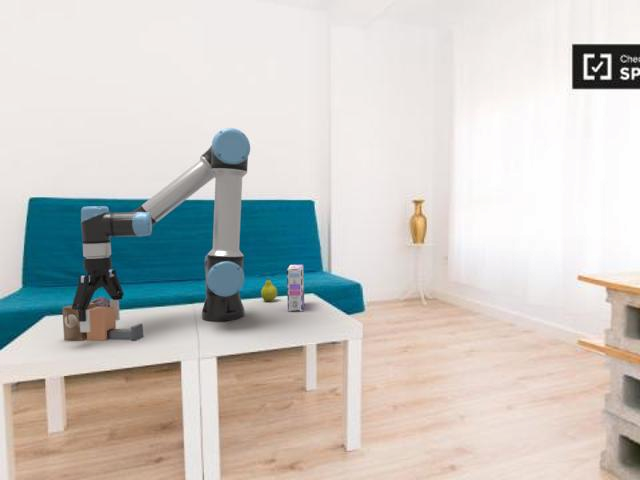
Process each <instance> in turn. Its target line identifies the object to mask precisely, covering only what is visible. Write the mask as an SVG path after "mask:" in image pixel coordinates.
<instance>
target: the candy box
mask: <svg viewBox="0 0 640 480" xmlns="http://www.w3.org/2000/svg"><path fill="white" fill-rule="evenodd" d="M286 273H287V274H286V278H287V279H286V280H287V281H286V285H287V287H286V288H287V289H286V290H287V292H286V294H287V312H303V311H304V306H305V283H304V282H305V277H304V275H305V274H304V264H290V265H289V266H288V268H287V269H286Z"/></svg>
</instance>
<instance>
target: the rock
mask: <svg viewBox="0 0 640 480" xmlns="http://www.w3.org/2000/svg"><path fill="white" fill-rule="evenodd" d="M90 303H96V307H110V299H109V298H107V297H103V296H98V297H96V298H94V299H93V300H91V301H90Z"/></svg>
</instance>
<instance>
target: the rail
mask: <svg viewBox="0 0 640 480" xmlns="http://www.w3.org/2000/svg"><path fill="white" fill-rule="evenodd" d="M143 337H144V326H143V323H138V324H136V325H134V326H132V327H130V328H129V329H126V328H125V329H123V328H121V329H120V328H116V329H109V330H107V340H130V341H133V342H135V341H137V340H139V339H141V338H143Z"/></svg>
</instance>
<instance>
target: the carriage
mask: <svg viewBox="0 0 640 480" xmlns="http://www.w3.org/2000/svg"><path fill="white" fill-rule="evenodd" d="M89 314H90V331H91V332H87V339H86V340H87V341H107V340H108V339H107V330H109V329H117V328H116V326H117V325H116V320H115V307H95V308H92V309H89Z"/></svg>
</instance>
